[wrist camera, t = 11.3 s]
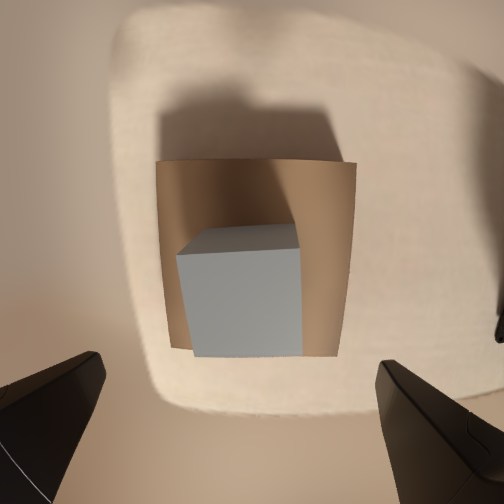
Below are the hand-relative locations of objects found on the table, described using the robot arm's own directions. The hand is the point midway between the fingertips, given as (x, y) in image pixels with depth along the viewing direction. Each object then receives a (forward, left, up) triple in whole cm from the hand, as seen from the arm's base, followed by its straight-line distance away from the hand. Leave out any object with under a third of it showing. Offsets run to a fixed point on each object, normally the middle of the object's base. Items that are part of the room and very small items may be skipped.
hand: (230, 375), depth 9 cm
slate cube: (0, 0, -9) cm, 9 cm away
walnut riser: (0, 0, -13) cm, 13 cm away
